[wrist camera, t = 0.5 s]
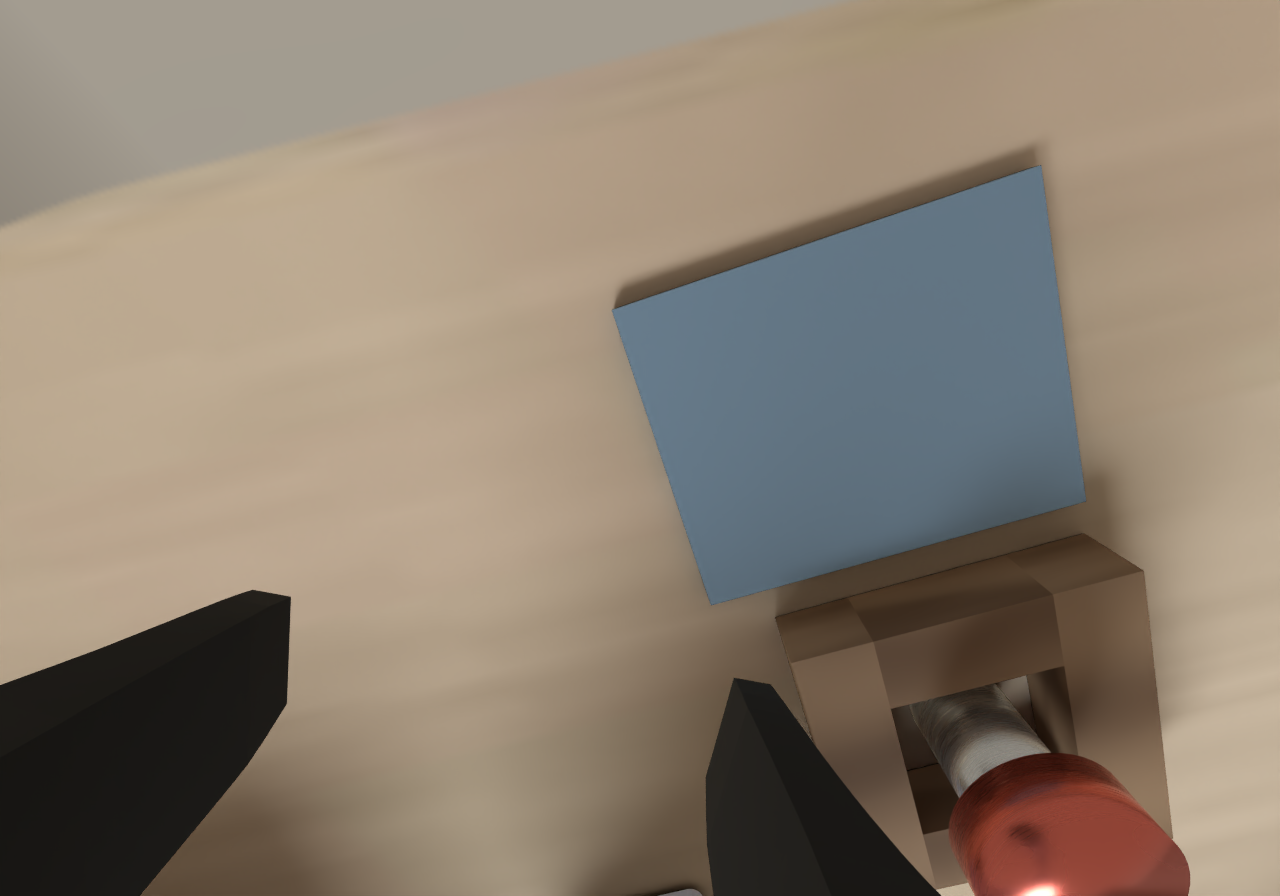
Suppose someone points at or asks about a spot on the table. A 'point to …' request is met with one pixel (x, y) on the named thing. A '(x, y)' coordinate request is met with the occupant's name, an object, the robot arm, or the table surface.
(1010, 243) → the mat
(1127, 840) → the red mushroom head
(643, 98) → the table surface
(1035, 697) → the eye block
